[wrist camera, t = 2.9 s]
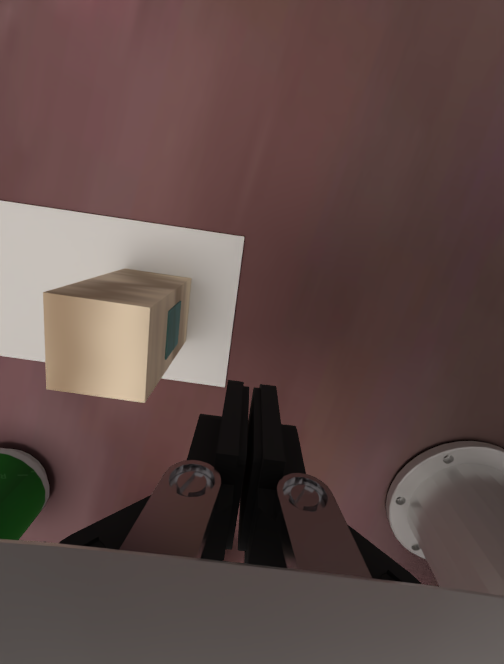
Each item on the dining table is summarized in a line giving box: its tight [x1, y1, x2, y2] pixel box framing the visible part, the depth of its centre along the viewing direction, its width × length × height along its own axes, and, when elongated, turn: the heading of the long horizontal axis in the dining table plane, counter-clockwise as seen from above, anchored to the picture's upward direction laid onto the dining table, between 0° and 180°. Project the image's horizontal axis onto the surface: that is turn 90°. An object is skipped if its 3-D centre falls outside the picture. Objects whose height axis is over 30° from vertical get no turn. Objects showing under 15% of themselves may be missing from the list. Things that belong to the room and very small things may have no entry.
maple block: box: [43, 268, 192, 403], centre depth 21 cm, size 5×5×10 cm
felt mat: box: [0, 200, 244, 387], centre depth 26 cm, size 20×12×1 cm, turn 82°
